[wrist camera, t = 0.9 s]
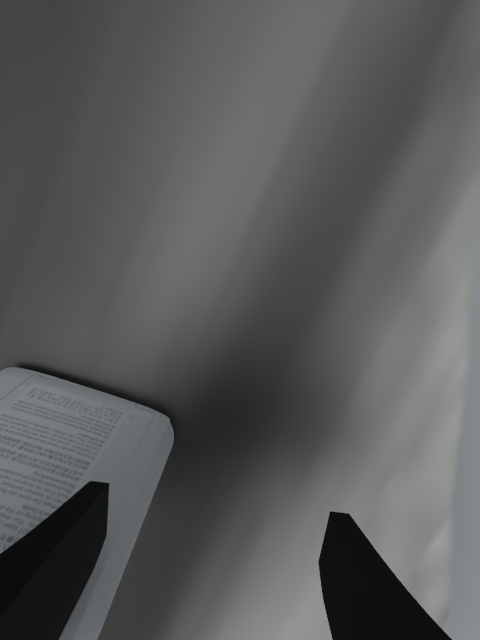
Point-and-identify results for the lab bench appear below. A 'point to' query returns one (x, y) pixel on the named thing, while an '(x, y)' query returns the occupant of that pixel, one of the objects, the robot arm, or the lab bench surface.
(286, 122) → the lab bench surface
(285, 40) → the lab bench surface
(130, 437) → the photo printer
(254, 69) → the lab bench surface
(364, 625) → the robot arm
